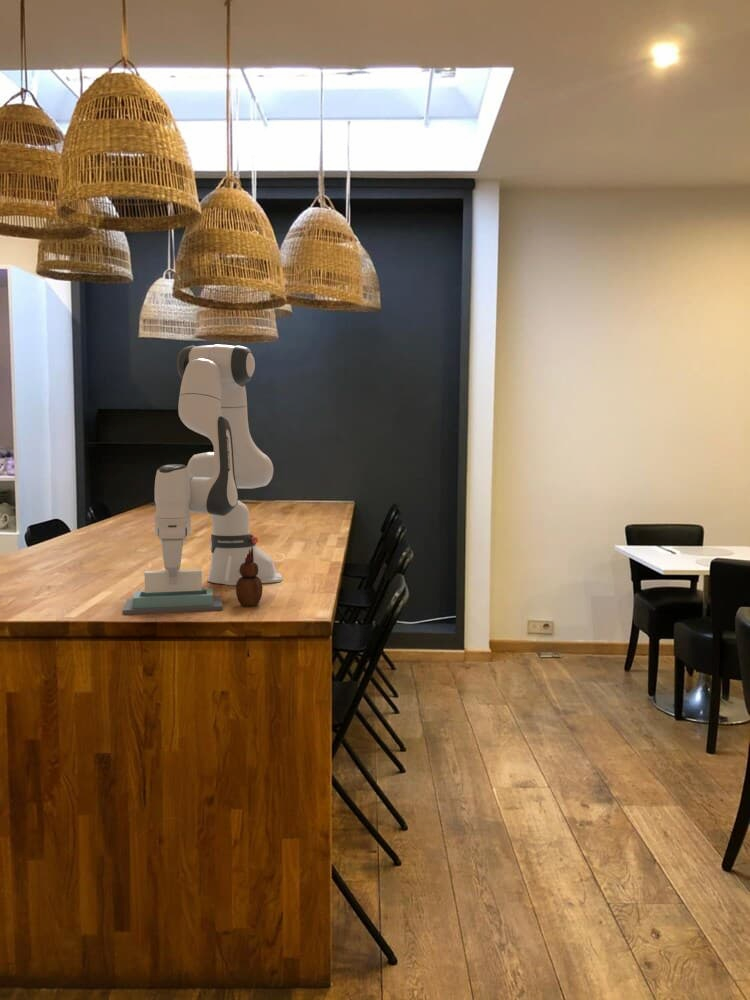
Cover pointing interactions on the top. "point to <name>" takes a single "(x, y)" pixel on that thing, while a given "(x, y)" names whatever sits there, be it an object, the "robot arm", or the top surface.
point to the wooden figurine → (249, 582)
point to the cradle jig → (172, 602)
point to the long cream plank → (161, 583)
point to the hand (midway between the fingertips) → (173, 582)
